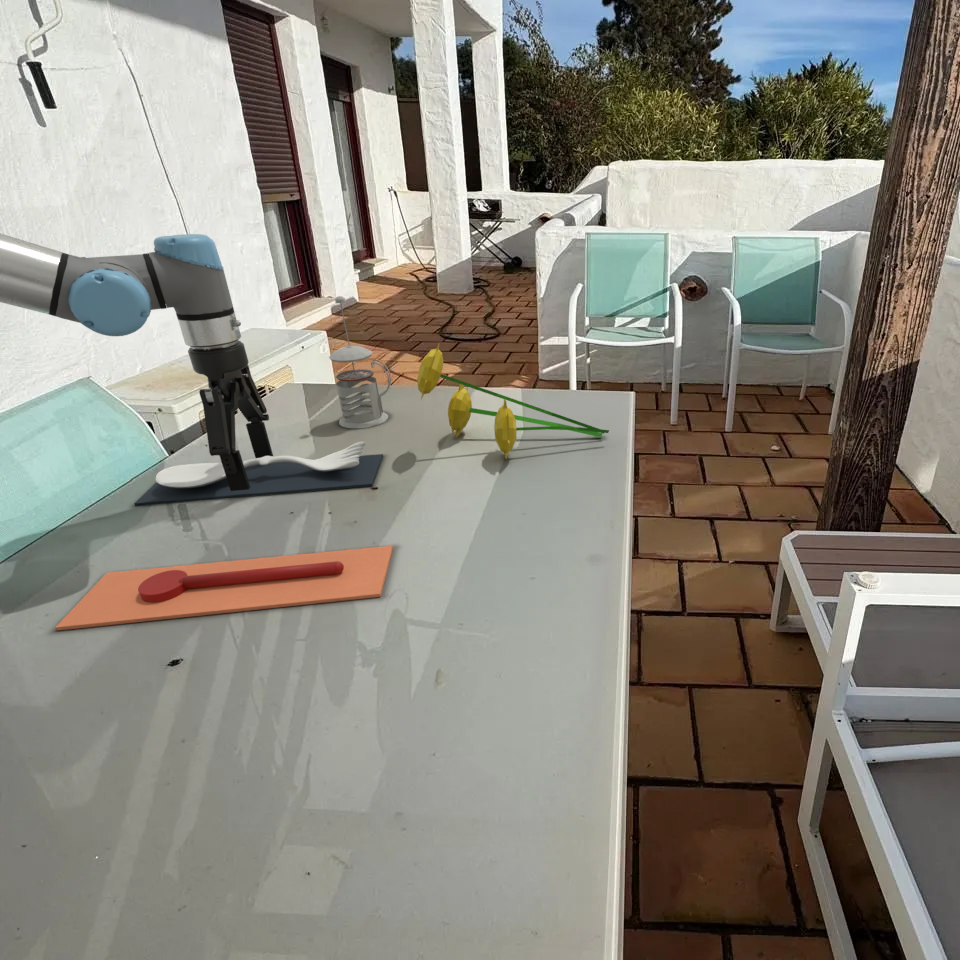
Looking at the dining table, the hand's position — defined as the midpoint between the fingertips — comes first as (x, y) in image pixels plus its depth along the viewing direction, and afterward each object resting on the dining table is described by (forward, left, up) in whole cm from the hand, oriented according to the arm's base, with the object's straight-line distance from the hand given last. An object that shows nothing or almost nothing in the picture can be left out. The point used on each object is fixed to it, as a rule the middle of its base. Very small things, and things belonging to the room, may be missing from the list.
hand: (253, 472), depth 106 cm
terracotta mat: (+8, -31, -1) cm, 33 cm away
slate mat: (+2, 0, -1) cm, 2 cm away
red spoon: (+8, -31, -1) cm, 33 cm away
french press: (+14, +26, -2) cm, 30 cm away
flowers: (+44, +8, -2) cm, 45 cm away
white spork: (+2, 0, -1) cm, 2 cm away
